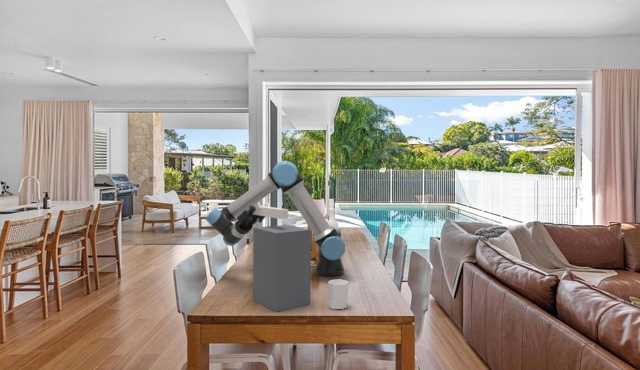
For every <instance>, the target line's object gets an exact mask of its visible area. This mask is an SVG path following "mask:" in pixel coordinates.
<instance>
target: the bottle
mask: <svg viewBox="0 0 640 370" xmlns="http://www.w3.org/2000/svg"><path fill="white" fill-rule="evenodd" d="M326 221H327V223H328V224H329V226H332V227H334V228H335V229H339V223H338V220H336V208H334V207H329V210H328V220H326Z"/></svg>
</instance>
